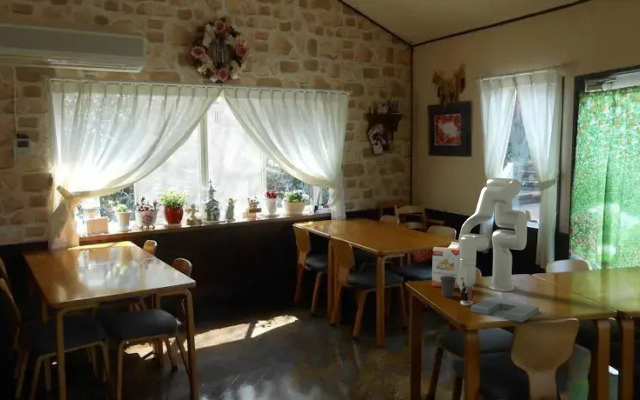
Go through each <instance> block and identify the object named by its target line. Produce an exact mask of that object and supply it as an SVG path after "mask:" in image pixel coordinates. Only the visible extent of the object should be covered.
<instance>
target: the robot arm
mask: <svg viewBox="0 0 640 400" xmlns="http://www.w3.org/2000/svg"><path fill="white" fill-rule="evenodd" d="M521 189H522V184H521V181H519V180H518V179H516V178H505V177H491V178H488V179H487V180H486V186H484V187H483V188H482V189H481V191H480V194H479V197H478V201H477V204H476V209H475V212H474V213H473V214H472V215H471V216H469V217H468V218H467V219H466V221H464V223H463V224H462V226H461V229H460V233H459V235H458V236H459V237H458V243H459V245H460V267H459V273H458V286H459V287H458V289H459V290H460V301H462V300H463V301H468V293H467V289H468V286H470V285H471V284H472V299H473V298H474V296H473V294H474V286H475V283H476V278H477V274H476V266H477V251H485V250H486V249H488V247H489V244H490V243H489V242H490V241H489V238H488V237H487V236H485V235H482V234H476V233H471V230H472V229H473V228H474V227H476V226H477V225H480V224H481V223H482V224H483V223H485V222H487V221H490V220H491V219H493V216H494V223H495V225H496V226H497V227H499V228H503V229H496V230H494V231H493V232H492V234H491V242H492V243H491V244H492V254H493V255H492V257H493V258H492V282H491V284H489V286H488V288H489V289H490V290H493V291H497V292H512V291H514V290H515V287H514V285H512V283H513V282H514V280H513V278H512V269H513V268H512V267H513V255H512V252H511V251H510V250H518V251H522V250H524V249H525V248H526V245H527V243H528V242H527V241H528V240H527V238H528V218H527V214H526V213H525V212H524V211H521V210H514V209H513V200H514V199H515V198H516V197H517V196H518V195H519V194H520V192H521ZM504 228H505V229H504ZM509 229H513V230H509ZM463 285H465V286H463ZM463 287H465V288H463Z"/></svg>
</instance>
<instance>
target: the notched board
mask: <svg viewBox="0 0 640 400" xmlns="http://www.w3.org/2000/svg"><path fill="white" fill-rule="evenodd" d="M500 309H502V310H506V311H505V312H503V319H504V320H509V321H513V322H514V321H515V322H518V323H523V322H525V321H527V320H528V319H530V318H532V317H533V316H534V315H536V314H538V313H539V312H540V306H539V305H533V304H527V303H523V302H517V301H513V300H506V299H502V298H496V297H486V298H485V299H482V300H480V301H478V302H476V303H475V304H474V303H473V305H471V306H470V312H471V313H475V314H481V315H485V316H488V315H490V314H492V313H494V312H496V311H498V310H500Z"/></svg>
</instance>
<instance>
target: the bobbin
mask: <svg viewBox="0 0 640 400" xmlns="http://www.w3.org/2000/svg"><path fill="white" fill-rule="evenodd" d="M463 286H465V285H463ZM463 288H465V287H463ZM472 291H473V290H472V284H471V285H470V286H468V289H467V293H468V301H463V300H460V305H461V306H467V307H468V306H470V307H471V306H472V305H474V302H473V301H472V299H473V298H472Z"/></svg>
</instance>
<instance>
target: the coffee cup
mask: <svg viewBox="0 0 640 400" xmlns="http://www.w3.org/2000/svg"><path fill="white" fill-rule="evenodd" d="M440 279H441V287H440V288H441V296H442V297H444V298H452V297H454V293H455V288H454V286H455V280H456V278H455V277H452V276H442V277H441V278H440Z"/></svg>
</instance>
